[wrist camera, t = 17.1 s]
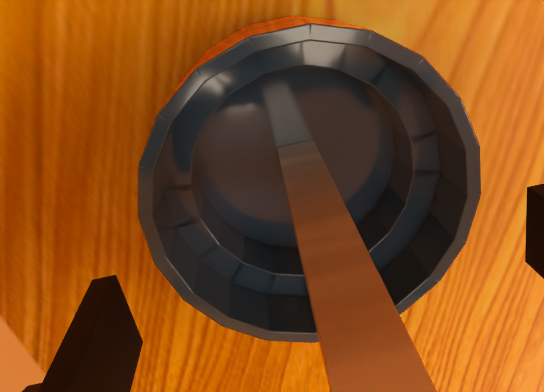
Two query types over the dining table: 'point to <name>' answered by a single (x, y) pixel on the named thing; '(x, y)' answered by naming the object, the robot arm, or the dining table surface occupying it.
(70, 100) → the dining table surface
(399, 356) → the stirring stick
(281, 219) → the mixing bowl
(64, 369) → the robot arm
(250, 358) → the dining table surface
